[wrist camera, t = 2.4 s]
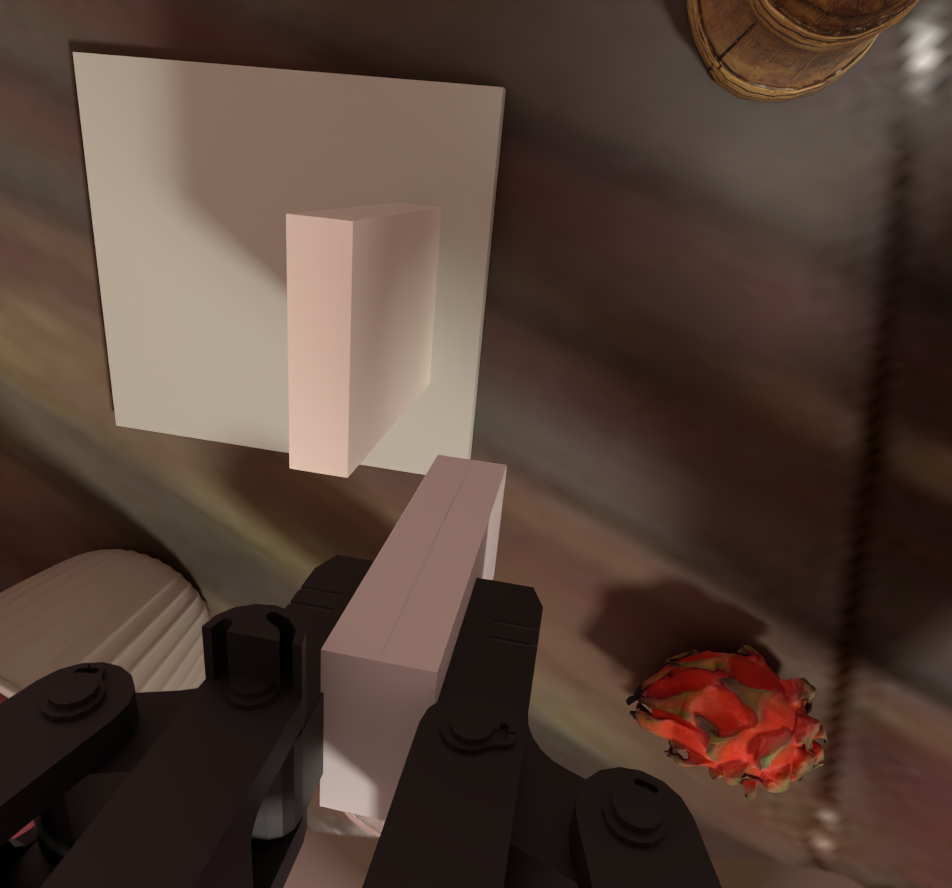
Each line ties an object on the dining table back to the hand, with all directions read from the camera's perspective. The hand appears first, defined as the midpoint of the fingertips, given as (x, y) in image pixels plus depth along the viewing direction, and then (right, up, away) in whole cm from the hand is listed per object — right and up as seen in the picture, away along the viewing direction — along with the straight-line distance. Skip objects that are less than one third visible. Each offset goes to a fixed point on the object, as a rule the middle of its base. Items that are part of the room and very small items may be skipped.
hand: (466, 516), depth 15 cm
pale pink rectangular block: (-3, +10, +24) cm, 26 cm away
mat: (-11, +12, +26) cm, 30 cm away
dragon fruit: (+16, -14, +31) cm, 38 cm away
